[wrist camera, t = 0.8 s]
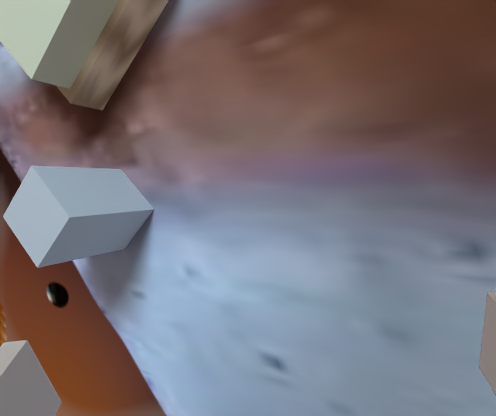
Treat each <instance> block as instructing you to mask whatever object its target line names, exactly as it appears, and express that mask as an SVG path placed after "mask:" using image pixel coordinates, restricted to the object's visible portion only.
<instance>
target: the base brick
mask: <svg viewBox="0 0 496 416" xmlns="http://www.w3.org/2000/svg"><path fill="white" fill-rule="evenodd" d="M168 1H169V0H119V1H118V3H117V5H116V7H115V8H114V10H113V12H112V14H111V16H110V18H109V19H108V21H107V23H106V25H105V27H104V28H103V30H102V32H101V34H100V36H99V37H98V39H97V41H96V43H95V45H94V46H93V48H92V50H91V52H90V54H89V56H88V57H87V59H86V61H85V63H84V65H83V66H82V68H81V70H80V72H79V74H78V75H77V77H76V79H75V81H74V83H73V84H72V86H71V88H70V89H68V88H64V87H60V86H56V87H57V88H58V89H59V90H60V91H61V93H62V94H63V95H64V96H65V97H66V99H67V100H68V101H69V102H70V103H71V104H75V105H80V106H84V107H89V108H94V109H98V110H103V109H104V107H105V106H106V104H107V102H108V101H109V99H110V97H111V96H112V94H113V92H114V91H115V89H116V87H117V86H118V84H119V83H120V81H121V79H122V78H123V76H124V74H125V73H126V71H127V69H128V68H129V66H130V64H131V63H132V61H133V59H134V58H135V56H136V54H137V53H138V51H139V49H140V48H141V46H142V44H143V43H144V41H145V39H146V38H147V36H148V34H149V33H150V31H151V29H152V28H153V26H154V24H155V23H156V21H157V20H158V18H159V16H160V15H161V13H162V11H163V10H164V8H165V6H166V5H167V3H168Z"/></svg>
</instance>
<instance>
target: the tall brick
mask: <svg viewBox="0 0 496 416" xmlns="http://www.w3.org/2000/svg"><path fill="white" fill-rule="evenodd" d="M153 210H154V209H153V207H152V206H151V205H150V204H149V203H148V201H147V200H146V199H145V198H144V197H143V195H142V194H141V193H140V192H139V191H138V189H137V188H136V187H135V186H134V185H133V183H132V182H131V181H130V180H129V179H128V177H127V176H126V175H125V174H124V173H123V171H122V170H121V169H103V168H77V167H51V166H31V167H30V169H29V171H28V173H27V174H26V176H25V178H24V180H23V182H22V183H21V185H20V187H19V189H18V191H17V192H16V194H15V196H14V198H13V200H12V202H11V203H10V205H9V207H8V209H7V210H6V212H5V214H4V216H3V217H4V219H5V220H6V222H7V223H8V225H9V226H10V228H11V229H12V231H13V232H14V234H15V235H16V237H17V238H18V240H19V241H20V243H21V244H22V246H23V247H24V248H25V250H26V251H27V253H28V254H29V256H30V257H31V259H32V260H33V262H34V263H35V265H36V266H37V267H42V266H47V265H52V264H57V263H61V262H66V261H71V260H75V259H80V258H85V257H90V256H94V255H99V254H104V253H108V252H113V251H118V250H122V249H125V248H126V246H127V245H128V244H129V242H130V241H131V240H132V238H133V237H134V236H135V234H136V233H137V231H138V230H139V229H140V227H141V226H142V225H143V223H144V222H145V221H146V219H147V218H148V217H149V215H150V214H151V213H152V211H153Z"/></svg>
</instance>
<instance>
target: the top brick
mask: <svg viewBox="0 0 496 416" xmlns="http://www.w3.org/2000/svg"><path fill="white" fill-rule="evenodd" d="M118 1H119V0H0V42H1V43H2V44H3V45H4V46H5V48H6V49H7V50H8V51H9V53H10V54H11V55H12V56H13V57H14V59H15V60H16V61H17V62H18V64H19V65H20V66H21V67H22V68H23V70H24V71H25V72H26V73H27V75H28V76H29V77H30V78H31V79H32V80H36V81H40V82H44V83H48V84H52V85H56V86H60V87H64V88H68V89H70V88H71V86H72V84H73V83H74V81H75V79H76V77H77V75H78V74H79V72H80V70H81V68H82V66H83V65H84V63H85V61H86V59H87V57H88V56H89V54H90V52H91V50H92V48H93V46H94V45H95V43H96V41H97V39H98V37H99V36H100V34H101V32H102V30H103V28H104V27H105V25H106V23H107V21H108V19H109V18H110V16H111V14H112V12H113V10H114V8H115V7H116V5H117V3H118Z"/></svg>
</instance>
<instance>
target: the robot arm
mask: <svg viewBox="0 0 496 416" xmlns="http://www.w3.org/2000/svg"><path fill="white" fill-rule="evenodd" d="M479 368H480V370H481V371H482V373H483V375H484V376H485V378H486V380H487V381H488V383H489V384H490V386H491V388H492V389H493V391H494V393H495V394H496V291H493V292H488V293H487V302H486V310H485V319H484V327H483V336H482V344H481V353H480V361H479ZM60 404H61V400H60V398H59V397H58V395H57V393H56V391H55V389H54V388H53V386H52V384H51V382H50V380H49V379H48V377H47V375H46V373H45V371H44V370H43V368H42V367H41V364H40V362H39V361H38V359H37V357H36V355H35V354H34V352H33V350H32V348H31V347H30V345H29V343H28V341H27V340H26V341H15V342H6V343H3V344H2V346H1V347H0V416H55V414H56V412H57V410H58V408H59V406H60Z"/></svg>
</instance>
